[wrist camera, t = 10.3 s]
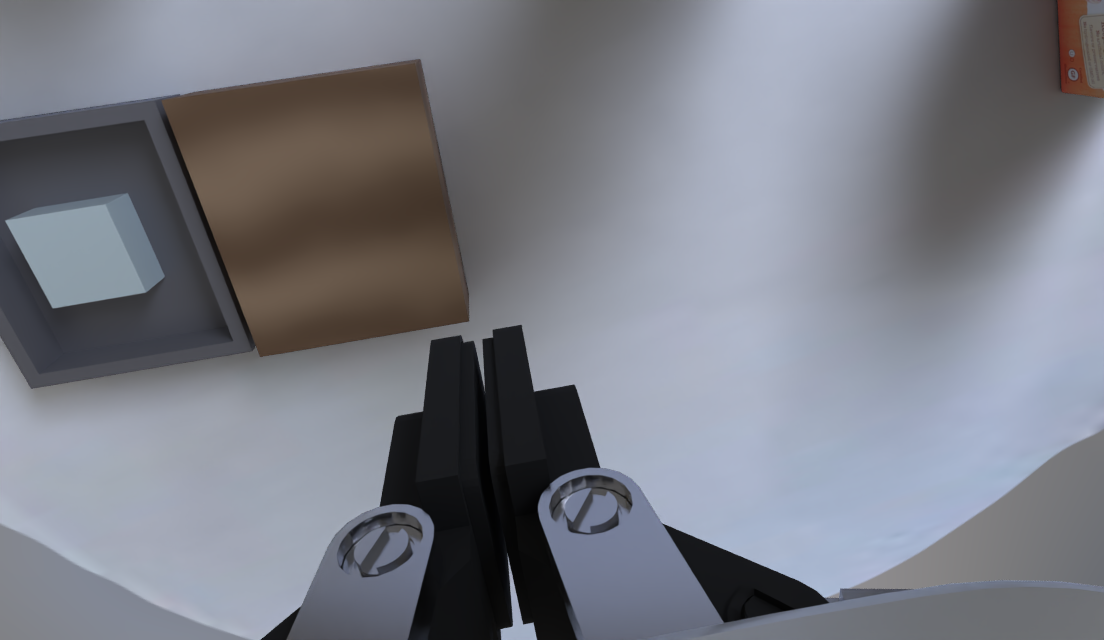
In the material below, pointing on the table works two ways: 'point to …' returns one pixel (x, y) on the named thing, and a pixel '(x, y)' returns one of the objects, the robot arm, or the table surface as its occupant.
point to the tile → (87, 250)
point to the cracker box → (1081, 46)
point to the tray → (168, 220)
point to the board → (327, 204)
